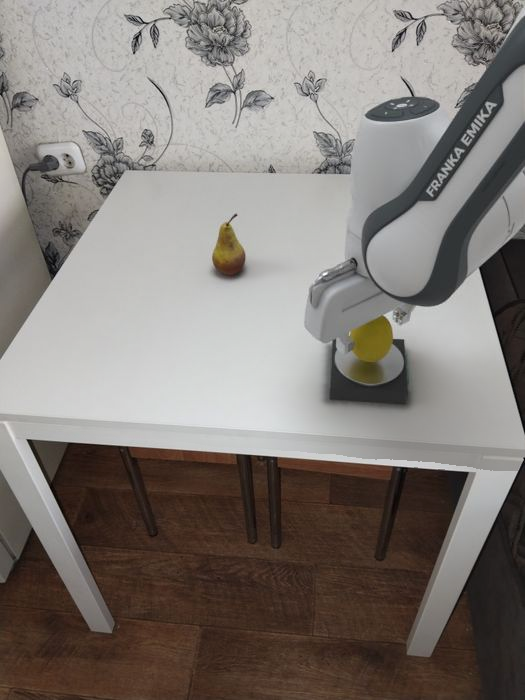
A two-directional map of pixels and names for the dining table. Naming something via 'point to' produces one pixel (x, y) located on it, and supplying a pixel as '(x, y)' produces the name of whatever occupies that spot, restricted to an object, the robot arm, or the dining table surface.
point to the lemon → (372, 339)
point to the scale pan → (370, 368)
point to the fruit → (228, 251)
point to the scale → (383, 394)
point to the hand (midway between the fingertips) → (373, 335)
